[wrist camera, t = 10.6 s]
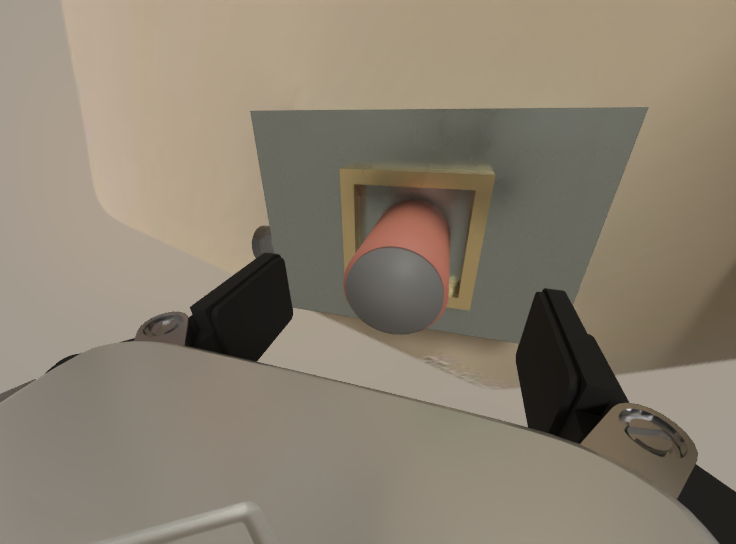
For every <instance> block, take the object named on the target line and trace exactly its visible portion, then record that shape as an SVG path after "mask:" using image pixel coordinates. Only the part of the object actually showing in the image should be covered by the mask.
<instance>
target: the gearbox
mask: <svg viewBox="0 0 736 544" xmlns="http://www.w3.org/2000/svg"><path fill="white" fill-rule="evenodd" d="M647 110H648V107H629V108H517V109H404V110H291V111H250V112H251V118H252V124H253V130H254V136H255V142H256V148H257V154H258V160H259V166H260V172H261V178H262V184H263V189H264V195H265V201H266V207H267V213H268V219H269V225H270V226H260V227H259V228H258V229H257V230H256V231H255V233H254V235H253V239H252V250H253V253H254V256H255V257H256V258H258V257H259V256H260V255H262V254H263V253H274V254H279V255H280V256H281V258H283V259H284V261H285V266H286V272H287V278H288V284H289V290H290V296H291V302H292V308H299V309H305V310H311V311H317V312H324V313H330V314H336V315H343V316H349V317H355V318H359V317H358V316H357V315H356V314H355V312H354V311H353V310H352V308H351V307H350V305H349V303H348V301H347V299H346V296H345V292H344V286H343V280H344V273H345V270H346V268H347V266H348V264H349V262H350V261H351V259H352V258H353V256H354V255H355V253H356V252H357V251H358V249H359V248H360V246H361V245H362V243H363V242H364V240H365V239H366V238H367V236H368V235H369V233H370V232H371V230H372V229H373V228H374V226H375V225H376V223H377V222H378V220H379V219H380V218H381V216H382V215H383V213H384V212H385V211H386V210H387V209H388V208H389V207H391V206H392V205H394V204H396V203H398V202H401V201H405V200H420V201H424V202H427V203H429V204H431V205H433V206H434V207H436V208H437V209H438V210H439V211H440V212H441V213H442V214H443V215H444V217H445V218H446V220H447V222H448V225H449V229H450V269H449V299H448V303H447V306H446V308H445V311H444V312H443V314H442V315H441V317H440V318H439V319H438V320H437V321H436V322H435V323H434V324H432V325H431V326H429V327H427V328H425V329H430V330H437V331H443V332H449V333H455V334H462V335H468V336H474V337H481V338H487V339H493V340H499V341H506V342H512V343H518V344H519V343H520V340H521V337H522V333H523V330H524V327H525V324H526V321H527V318H528V314H529V311H530V308H531V305H532V302H533V299H534V296H535V293H536V292H542V290H543V289H544V288H548V289H556V290H563V291H565V292H566V294H567V296H568V298H569V299H570V301H571V303H572V305H573V303H574V300H575V297H576V295H577V292H578V290H579V287H580V284H581V282H582V279H583V277H584V274H585V271H586V269H587V266H588V264H589V261H590V258H591V256H592V253H593V251H594V248H595V245H596V243H597V240H598V238H599V235H600V232H601V230H602V227H603V225H604V222H605V219H606V217H607V214H608V212H609V209H610V206H611V204H612V201H613V199H614V196H615V193H616V191H617V188H618V186H619V183H620V180H621V178H622V175H623V173H624V170H625V167H626V165H627V162H628V160H629V157H630V154H631V152H632V149H633V146H634V144H635V141H636V139H637V136H638V133H639V131H640V128H641V126H642V123H643V120H644V118H645V115H646V113H647Z"/></svg>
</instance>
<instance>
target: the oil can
mask: <svg viewBox="0 0 736 544" xmlns="http://www.w3.org/2000/svg"><path fill="white" fill-rule="evenodd" d="M449 269H450V229H449V225H448V222H447V220H446V218H445V217H444V215H443V214H442V213H441V212H440V211H439V210H438V209H437V208H436V207H434V206H433V205H431V204H429V203H427V202H424V201H420V200H405V201H401V202H398V203H396V204H394V205H392V206H391V207H389V208H388V209H387V210H386V211H385V212H384V213H383V215H382V216H381V218H380V219H379V220H378V222H377V223H376V225H375V226H374V228H373V229H372V230H371V232H370V233H369V235H368V236H367V238H366V239H365V240H364V242H363V243H362V245H361V246H360V248H359V249H358V251H357V252H356V253H355V255H354V256H353V258H352V259H351V261H350V262H349V264H348V266H347V268H346V270H345V273H344V280H343V286H344V292H345V296H346V299H347V301H348V303H349V305H350V307H351V308H352V310H353V311H354V312H355V314H356V315H357V316H358V317H359V318H360V319H361V320H362V321H363V322H365V323H366V324H368V325H369V326H371V327H373V328H374V329H377V330H379V331H382V332H385V333H390V334H410V333H415V332H418V331H421V330H423V329H425V328H427V327H429V326H431V325H432V324H434V323H435V322H436V321H437V320H438V319H439V318H440V317H441V315H442V314H443V312H444V311H445V308H446V306H447V303H448V299H449Z"/></svg>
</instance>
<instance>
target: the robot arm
mask: <svg viewBox="0 0 736 544" xmlns="http://www.w3.org/2000/svg"><path fill="white" fill-rule="evenodd" d="M190 309H191V312H192V314H193V315H192V316H190V317H189V318H188V316H187V315H186V314H185V313H182V312H168V313H164V314H161V315H158V316H155V317H153V318H151V319H149V320H148V321H146V322H145V323H144V324H143V325H141V326H140V328H139V329H138V331H137V334H136V336H135V338H134V339H130V340H127V341H123V342H119V343H113V344H108V345H103V346H99V347H95V348H92V349H90V350H88V351H85V352H83V353H80V354H75V355H71V356H68V357H66V358H64V359H62V360H61V361H59V362H58V363H56V365H55V366H53V367H52V368H51V369H50V370H48V371H47V372H46V373H45V374H44V375H43V376H41V377H40V378H38V379H34V380H32V381H29V382H27V383H25V384H22V385H20V386H18V387H15V388H13V389H11V390H8V391H6V392H3V393H1V394H0V544H736V492H735V491H734V490H732V489H731V488H729V487H728V486H726V485H725V484H723V483H722V482H721V481H719V480H718V479H716V478H715V477H713V476H712V475H710V474H709V473H708V472H706V471H705V470H703V469H702V468H700V467H699V466H698V465H696V462H697V456H698V452H697V449H696V447H695V444H694V443H693V441H692V440H691V439H690V437H689V436H688V435H687V433H686V432H685V431H683V430H682V429H681V428H680V427H679V426H678V425H677V424H676V423H674V422H673V421H671V420H670V419H669V418H667V417H666V416H664V415H662V414H661V413H659V412H657V411H654V410H653V409H650V408H648V407H645V406H642V405H639V404H632V403H629V401H628V399H627V397H626V396H625V394H624V392H623V390H622V388H621V386H620V385H619V383H618V381H617V379H616V377H615V375H614V373H613V372H612V370H611V368H610V366H609V364H608V362H607V360H606V359H605V357H604V355H603V353H602V351H601V349H600V347H599V346H598V344H597V342H596V340H595V339H594V337H593V336H591V335H589V334H587V332H586V330H585V328H584V326H583V324H582V323H581V321H580V319H579V317H578V315H577V313H576V311H575V309H574V307H573V305H572V303H571V301H570V299H569V298H568V296H567V294H566V292H565V291H563V290H556V289H548V288H544V289H543V290H542V292H536V293H535V296H534V299H533V302H532V305H531V308H530V311H529V314H528V318H527V321H526V324H525V327H524V330H523V333H522V337H521V340H520V343H519V346H518V349H517V353H516V365H517V370H518V376H519V381H520V386H521V392H522V397H523V402H524V408H525V413H526V418H527V423H528V428H527V427H523V426H520V425H517V424H513V423H509V422H505V421H502V420H498V419H494V418H490V417H486V416H482V415H478V414H474V413H470V412H465V411H462V410H458V409H454V408H450V407H446V406H441V405H437V404H433V403H429V402H425V401H420V400H417V399H412V398H408V397H404V396H400V395H396V394H392V393H388V392H383V391H379V390H375V389H371V388H367V387H362V386H358V385H354V384H350V383H346V382H341V381H337V380H333V379H328V378H324V377H320V376H316V375H311V374H307V373H303V372H299V371H294V370H290V369H286V368H281V367H277V366H273V365H268V364H264V363H260V362H257V361H258V359H259V358H260V357H261V356H262V354H263V353H264V352H265V351H266V350H267V348H268V347H269V346H270V345H271V344H272V342H273V341H274V340H275V339H276V337H277V336H278V335H279V333H281V331H282V330H283V329H284V328H285V326H286V325H287V324H288V323H289V322H290V320H291V319H292V316H293V308H292V302H291V296H290V290H289V284H288V278H287V272H286V266H285V261H284V259H283V258H281V256H280V255H279V254H274V253H263V254H262V255H260V256H259V257H258V258H256V259H255V260H254V261H252V262H251V263H249V264H248V265H247V266H245V267H244V268H243V269H241V270H240V271H239V272H237V273H236V274H234V275H233V276H232V277H230V278H229V279H228V280H226V281H225V282H224V283H222V284H221V285H219V286H218V287H217V288H216V289H214V290H213V291H211V292H210V293H209V294H208V295H206V296H204V297H203V298H202V299H200V300H199V301H198V302H196V303H195V304H193V305H192V306H191V307H190Z"/></svg>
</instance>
